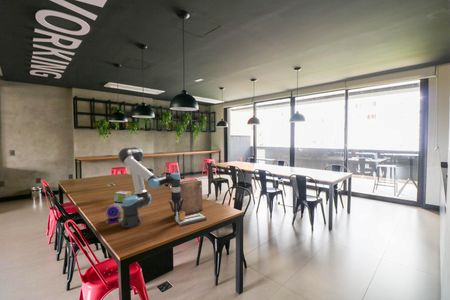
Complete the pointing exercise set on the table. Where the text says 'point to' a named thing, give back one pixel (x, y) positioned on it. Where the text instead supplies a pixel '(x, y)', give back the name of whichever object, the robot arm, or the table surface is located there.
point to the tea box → (121, 197)
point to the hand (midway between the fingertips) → (176, 219)
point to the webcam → (114, 213)
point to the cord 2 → (193, 221)
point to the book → (191, 196)
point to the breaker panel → (190, 218)
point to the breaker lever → (181, 215)
